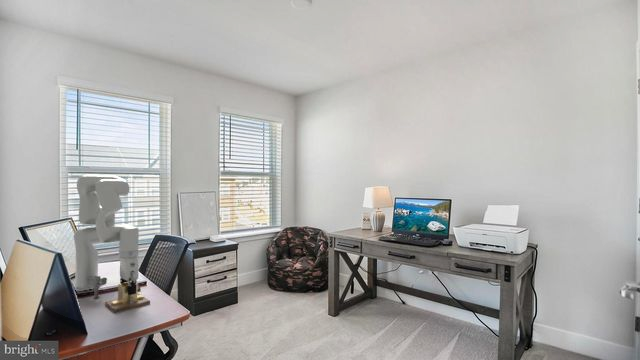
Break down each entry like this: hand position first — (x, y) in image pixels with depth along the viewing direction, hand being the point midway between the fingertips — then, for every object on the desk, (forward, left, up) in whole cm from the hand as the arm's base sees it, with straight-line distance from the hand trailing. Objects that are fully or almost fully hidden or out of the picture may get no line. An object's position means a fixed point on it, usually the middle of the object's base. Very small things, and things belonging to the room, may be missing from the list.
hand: (127, 291), depth 143 cm
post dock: (0, 0, -6) cm, 6 cm away
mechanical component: (-20, -7, -6) cm, 22 cm away
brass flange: (0, 0, -4) cm, 4 cm away
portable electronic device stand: (-20, +8, -6) cm, 22 cm away
